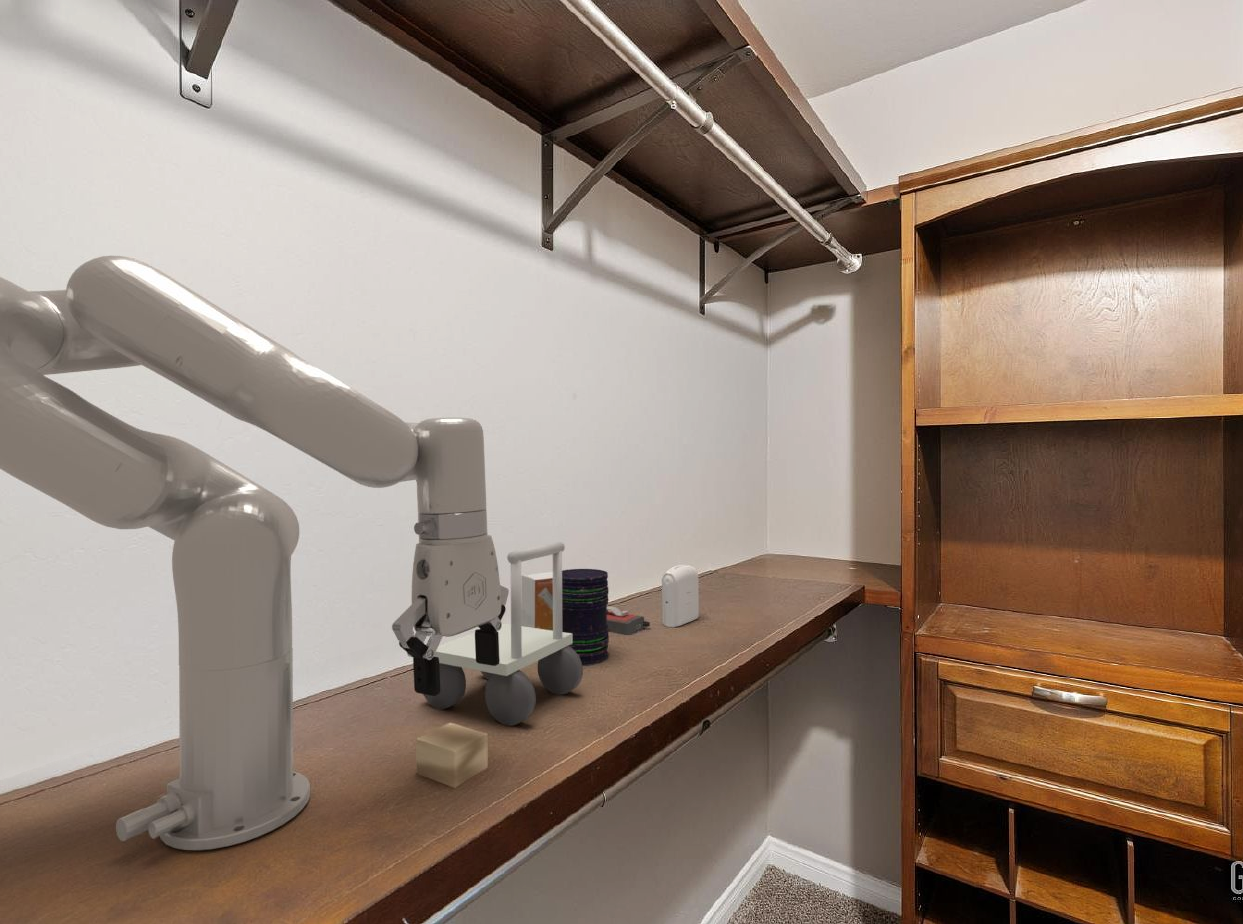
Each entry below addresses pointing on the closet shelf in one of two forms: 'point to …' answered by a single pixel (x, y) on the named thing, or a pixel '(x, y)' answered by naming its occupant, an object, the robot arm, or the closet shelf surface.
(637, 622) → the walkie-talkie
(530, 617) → the small box
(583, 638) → the dark blue cylinder
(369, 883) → the closet shelf surface
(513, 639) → the trolley
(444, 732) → the block
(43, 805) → the closet shelf surface
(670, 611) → the photo printer
